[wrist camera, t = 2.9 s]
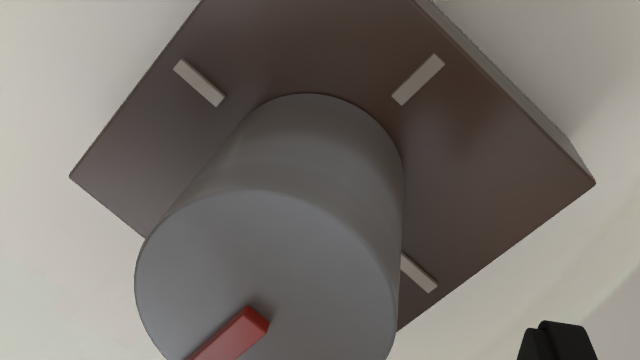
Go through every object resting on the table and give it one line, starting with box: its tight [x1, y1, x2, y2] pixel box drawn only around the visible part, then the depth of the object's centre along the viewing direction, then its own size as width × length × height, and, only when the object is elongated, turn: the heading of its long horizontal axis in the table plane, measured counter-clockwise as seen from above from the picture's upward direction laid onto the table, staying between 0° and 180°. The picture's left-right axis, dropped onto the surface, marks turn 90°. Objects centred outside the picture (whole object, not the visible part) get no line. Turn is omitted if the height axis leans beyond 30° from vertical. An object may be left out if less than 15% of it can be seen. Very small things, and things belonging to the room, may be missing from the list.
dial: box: [134, 93, 405, 360], centre depth 13 cm, size 5×5×6 cm
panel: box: [69, 0, 596, 332], centre depth 17 cm, size 10×10×3 cm
